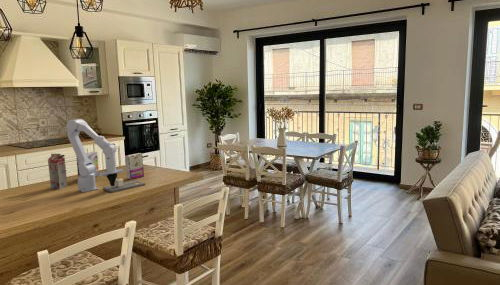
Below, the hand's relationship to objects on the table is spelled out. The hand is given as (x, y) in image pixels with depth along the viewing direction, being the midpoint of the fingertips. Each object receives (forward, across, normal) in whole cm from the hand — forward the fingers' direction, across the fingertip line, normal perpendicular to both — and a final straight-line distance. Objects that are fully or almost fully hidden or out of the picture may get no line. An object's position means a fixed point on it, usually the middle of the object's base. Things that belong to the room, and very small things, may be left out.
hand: (112, 185), depth 220 cm
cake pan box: (+3, +2, +41) cm, 41 cm away
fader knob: (+1, +5, 0) cm, 5 cm away
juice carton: (+3, -20, +32) cm, 38 cm away
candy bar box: (+3, +24, +18) cm, 31 cm away
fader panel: (+2, +8, 0) cm, 8 cm away
